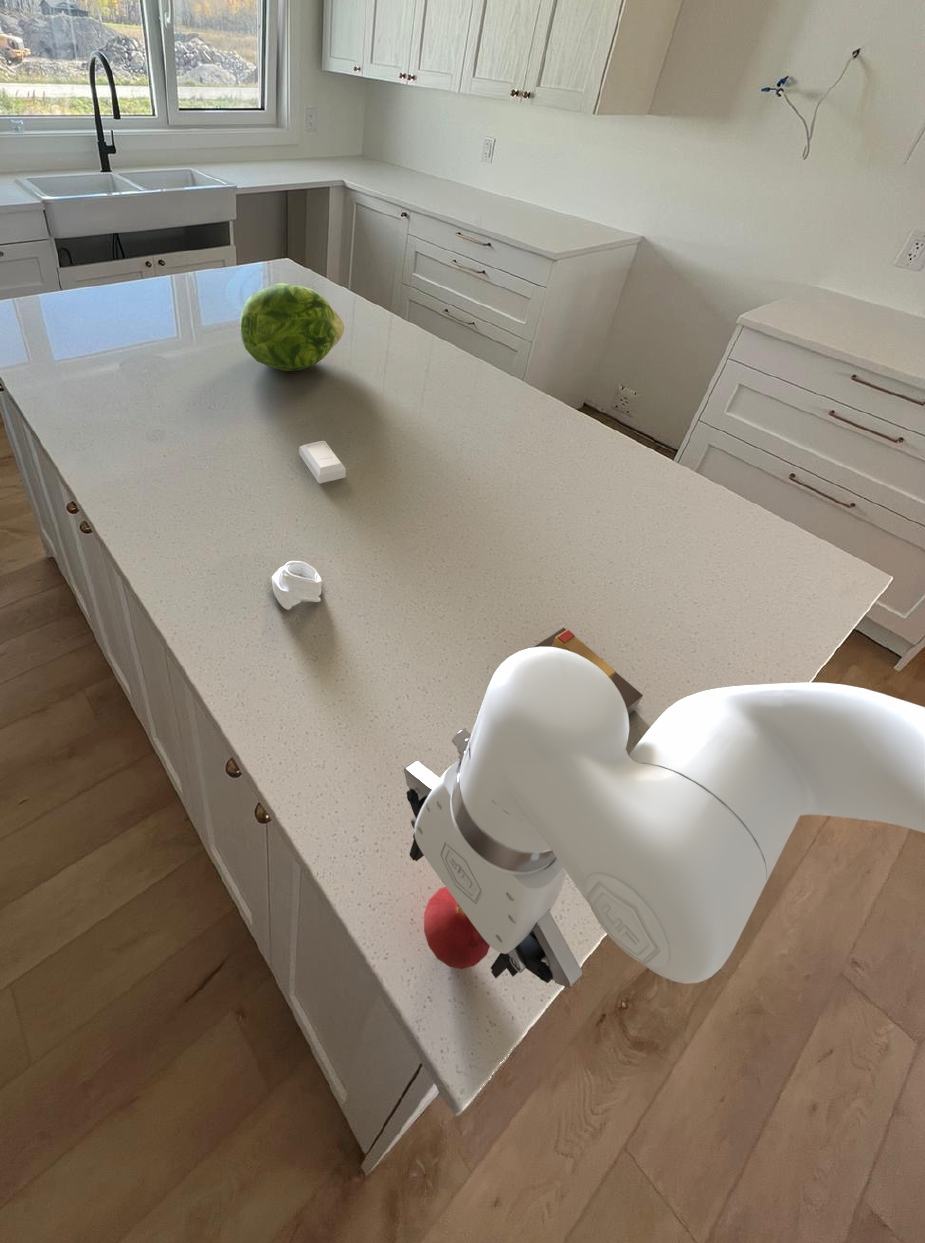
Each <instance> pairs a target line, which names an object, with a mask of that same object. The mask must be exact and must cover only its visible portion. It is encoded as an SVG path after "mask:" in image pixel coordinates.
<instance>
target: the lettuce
mask: <svg viewBox="0 0 925 1243" xmlns="http://www.w3.org/2000/svg"><path fill="white" fill-rule="evenodd" d="M239 333H240V337H241V342H242V345H243V346H244V349H245V350H246V351H247V352H248V353H249V355H250V356H251V357H252V358H253V359H254V360H255V361H256V362H257V363H260V364H262V365H264V366H267V367H270V368H272V369H276V370H279V371H282V372H296V371H297V372H298V371H303V370H307V369H310V368H311V367H313V366H315V365H316V364H318V363H319V362H321V361H322V360H323V359H324V358H325V357H326V356H327V355H329V353H330V351H331V350H332V349H333V348H334V347H335V346H336V345H337V344H338V343H339V342H340V340H341V339H342V337H343V335H344V333H345V323H344V321H343V319H342V317H341V316H340V315H339V313H338V312H337V311H336V310H335V309H333V308H332V307H331V305H330V304H329V302H328V301H327V300H326V299H325V298H324V297H323V296H322V295H320V294H319V293H318V292H317V291H316V290H313V289H311V288H310V287H307V286H304V285H298V284H291V283H285V282H284V283H283V282H281V283H274V284H271V285H269V286H267V287H265V288H263V289H261V290H259V291H257V292H254V293H252V294H251V295H250V296H249V297H248V298H247V300H246V301H245V302H244V305H243V306H242V309H241V312H240V317H239Z"/></svg>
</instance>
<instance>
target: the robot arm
mask: <svg viewBox="0 0 925 1243" xmlns="http://www.w3.org/2000/svg"><path fill="white" fill-rule="evenodd" d="M533 647H534V646H533ZM533 647H528V648H525V649H522V650H519V651H517V652H516V653H514V654H513V653H512V655H510V656H509V657H507V658H506V659H505V660H503V662H502V663H500V664H499V666H498V667H497V668H496V670H495V671H494V673H493V675H492V677H491V679H490V681H489V683H488V686H487V688H486V691H485V694H484V697H483V699H482V703H481V706H480V709H479V712H478V714H477V717H476V720H475V723H474V724H473V728H472V731H471V733H470V732H469V731H468V730H467V729H466V728H463V729H460V730H459V731H458V732H457V733H456V734H455V735H454V736H453V737H452V740H451V744H453V745H454V747H455V748H456V749H457V753H458V755H459V756H458V759H459V760H457V761H455V762H454V763H452V764H451V765H450V766H449V767H448V768H447V769H446V770H445V771H444V772H443V773H442V775H441V776H440V777H439V776H438V775H436V774H435V773H434V772H433V771H431V770H430V769H428V768H427V767H426V766H425V765H423V764H422V763H421V762H420V761H418V760H414V761H413V762H411V763H410V764H408V765H407V766H405V767H404V768H403V772H404V778H405V783H406V787H408V789H409V790H407V791H406V799H407V801H408V803H409V804H410V808H411V810H412V813H413V815H414V817H412V818H411V819H410V825H411V827H412V829H413V831H414V832H413V835H412V838H413V841H412V845H411V847H410V850H409V857H410V858H411V860H412V861H415V862H418V861H419V860H420V859H422V858H423V857H425V859H426V860H427V862H428V863H429V865H430V867H431V868H432V869H433V871H434V872H435V873H436V875H437V876H438V878H439V880H440V881H441V882H442V884H443V885H444V887H446V888H447V889H448V891H449V892H450V893H451V895H452V896H453V898H454V899H455V900H456V902H457V903H458V905H459V906H460V907H461V909H462V910H463V911H464V913H465V914H466V916H467V917H468V918H469V920H470V921H471V922H472V924H473V925H474V927H475V928H476V929H477V931H478V932H479V933H480V935H481V936H482V937H483V938H484V940H485V941H486V942H487V943H488V944H489V945H490V948H492V949H493V950H494V951H496V952H497V953H499V954H498V956H497V957H496V959H495V960H494V962H493V963H492V965H491V966H490V970H491V971H490V973H491V974H492V976H493V978H495V979H498V977H500V975H502V974H503V973H504V972H505V971H506V970H507V971H508V972H509V974H510V975H511V977H512V978H514V977H515V976H516V975H517V974H518V973H519V974H522V972H524V971H525V970H528V971H529V972H531V973H532V974H533V975H534V976H535V977H537V978H539V980H541V981H543V982H545V984H549V983H550V982H551V981H554V983H555V984H557V985H559V986H563V987H565V988H568V989H570V988H572V986H573V985H575V984H576V982H577V981H578V980H580V978H581V977H582V976H583V970H582V969H581V966H580V964H579V963H578V961H577V959H576V957H575V955H574V953H573V952H572V949H571V948H570V947H569V944H568V943H567V940H566V939H565V937H564V935H563V934H562V932H561V929H560V928H559V926H558V924H557V922H556V920H555V919H554V917H553V915H552V913H551V910H552V909H553V907H554V905H555V904H556V902H557V900H558V898H559V895H560V893H561V891H562V889H563V886H564V883H565V881H566V877H567V875H568V876H569V877H570V879H571V881H572V882H573V884H574V885H575V887H576V888H577V889H578V891H579V893H580V894H581V895H582V897H583V899H584V900H585V901H586V902H587V904H588V905H589V907H590V909H591V911H592V913H593V915H594V917H595V919H596V921H597V922H598V923H599V925H600V926H601V928H602V929H603V931H604V932H605V933H606V934H607V935H608V937H609V938H610V939H611V941H613V942H614V943H615V945H616V946H618V948H620V949H621V950H622V951H623V952H625V954H626V955H628V956H629V957H631V958H632V959H633V960H635V961H637V962H639V963H641V965H643V966H645V967H646V968H647V969H648V970H650V971H652V972H653V973H654V974H657V975H658V976H660V977H662V978H664V979H667V980H669V981H671V982H675V983H680V984H698V983H701V982H704V981H706V980H709V979H710V978H712V977H713V976H714V975H716V973H718V972H719V971H720V970H721V969H722V968H723V966H724V965H725V963H726V962H727V961H728V959H729V958H730V956H731V955H732V953H733V951H734V949H735V947H736V945H737V943H738V941H739V939H740V938H741V935H742V934H743V931H744V929H745V927H746V926H747V923H748V921H749V919H750V917H751V915H752V914H753V911H754V909H755V907H756V904H757V902H758V901H759V899H760V897H761V895H762V892H763V890H764V889H765V886H766V884H767V882H768V880H769V878H770V877H771V874H772V872H773V870H774V868H775V866H776V865H777V862H778V860H779V859H780V856H781V854H782V853H783V851H784V848H785V846H786V844H787V842H788V840H789V839H790V836H791V834H792V832H793V831H794V829H795V827H796V825H797V823H798V821H799V819H800V817H801V816H825V817H835V818H836V817H837V818H844V819H845V818H847V819H854V820H862V821H871V822H880V823H884V824H890V825H894V826H900V827H904V828H906V829H910V830H914V831H917V832H920V833H923V834H925V706H922V705H919V704H917V703H913V702H911V701H907V700H903V699H900V698H897V697H894V696H891V695H888V694H885V693H882V692H878V691H874V690H871V689H868V688H863V687H858V686H853V685H847V684H841V683H831V682H806V681H805V682H782V683H764V684H746V685H733V686H726V687H724V686H723V687H718V688H711V689H707V690H702V691H699V692H696V693H693V694H690V695H688V696H685V697H683V698H681V699H679V700H676V702H674V703H673V704H672V705H671V706H669V707H668V708H667V709H666V710H664V711H663V713H661V715H660V716H659V717H658V718H657V719H656V720H655V721H654V722H653V723H652V725H651V726H650V727H649V729H648V730H646V732H644V734H643V736H642V737H641V738H640V740H639V741H638V743H636V745H635V746H634V748H633V749H632V750H631V751H630V752H629V754H628V751H627V745H628V742H629V736H630V718H629V715H628V712H627V708H626V705H625V702H624V700H623V698H622V696H621V694H620V692H619V690H618V689H617V687H616V686H615V684H614V683H613V682H612V680H611V679H610V678H609V677H608V676H607V675H606V674H605V673H604V672H603V671H602V670H601V669H600V668H599V667H598V666H596V665H595V664H593V663H592V662H590V661H589V660H588V659H586V658H584V657H582V656H580V655H578V654H576V653H573V652H571V651H568V650H564V649H560V648H555V647H534V648H533Z"/></svg>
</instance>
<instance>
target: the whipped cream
mask: <svg viewBox="0 0 925 1243" xmlns="http://www.w3.org/2000/svg"><path fill="white" fill-rule="evenodd" d="M299 575H300V576H299ZM271 582H272V583H271V584H272V591H273V594H274V596H275V599H276V600H277V602H278V603H279V604H280V606H281V607H283V608H284V609H285V610H287V611H290V610H291V609H292V607H295V606H296V605H298V604H300V603H301V602H305V603H307V602H314V603H321V600H322V599H321V597H320V596H321V594H322V586H323V581H322V578H321V576H320V574H319V573H318V571H317V569H316V568H315V567H313V566H312V565H310V564H308V563H307V562H305V561H301V560H291V561H288V562H286V563H285V565H283V566H281V567H278V569H277V570H276V571H275V572H274V573H273V575H272V576H271Z"/></svg>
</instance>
